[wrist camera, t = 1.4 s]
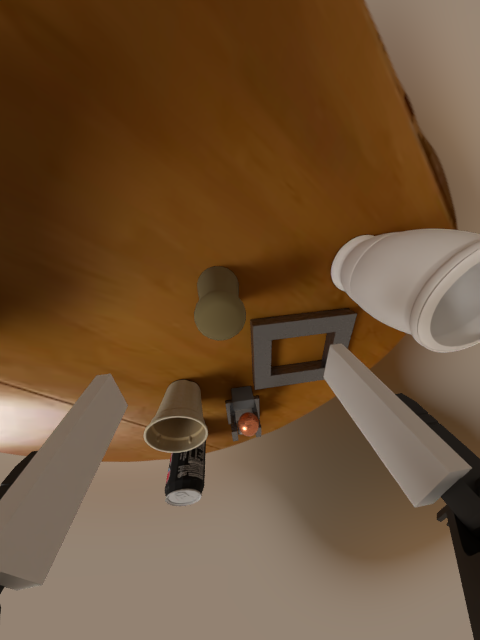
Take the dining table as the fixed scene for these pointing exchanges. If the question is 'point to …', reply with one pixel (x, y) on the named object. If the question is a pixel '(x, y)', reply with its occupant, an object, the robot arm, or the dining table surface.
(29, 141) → the dining table surface
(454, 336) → the jar
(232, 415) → the grey metal bracket
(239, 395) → the rest stop
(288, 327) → the grey rectangular frame
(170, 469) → the beverage can
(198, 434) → the flower pot
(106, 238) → the dining table surface
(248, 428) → the lever handle
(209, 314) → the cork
